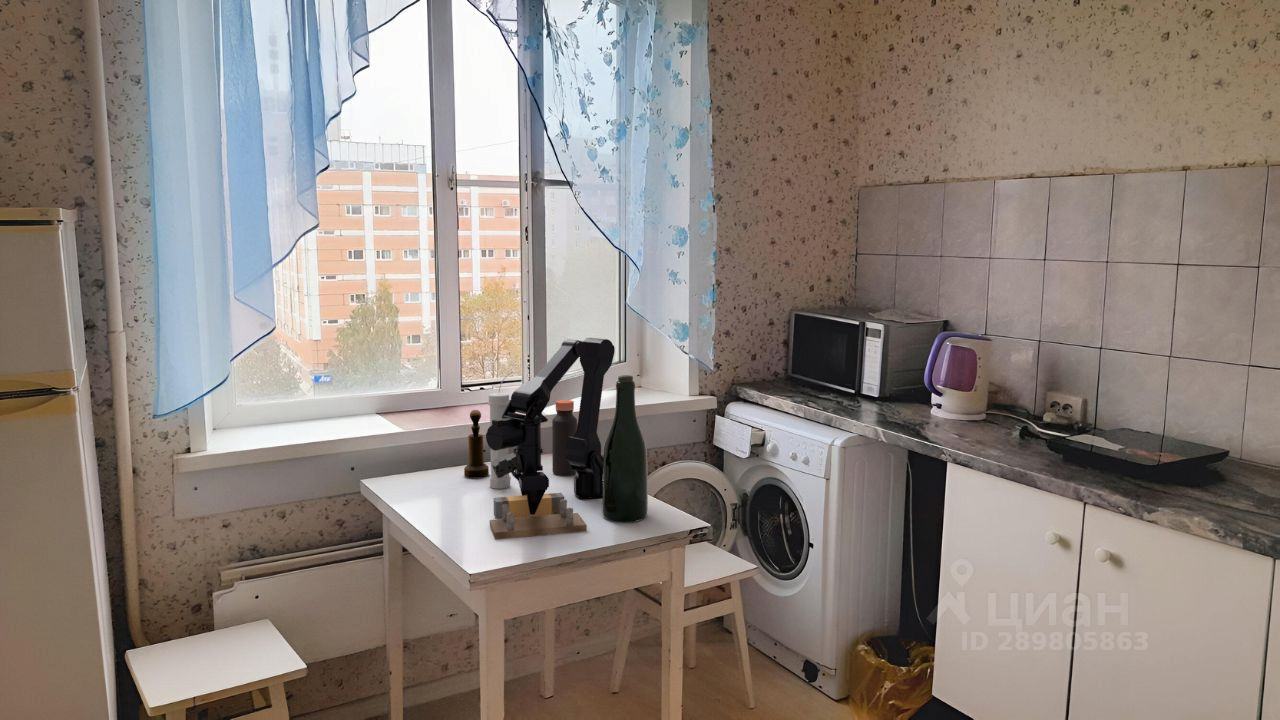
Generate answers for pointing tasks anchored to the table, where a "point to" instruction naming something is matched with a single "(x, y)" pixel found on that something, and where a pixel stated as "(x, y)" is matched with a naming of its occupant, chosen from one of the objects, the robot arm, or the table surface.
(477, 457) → the pepper mill
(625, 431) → the green wine bottle
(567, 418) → the vinegar
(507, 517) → the rack
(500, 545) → the table surface
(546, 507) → the bar
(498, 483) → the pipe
